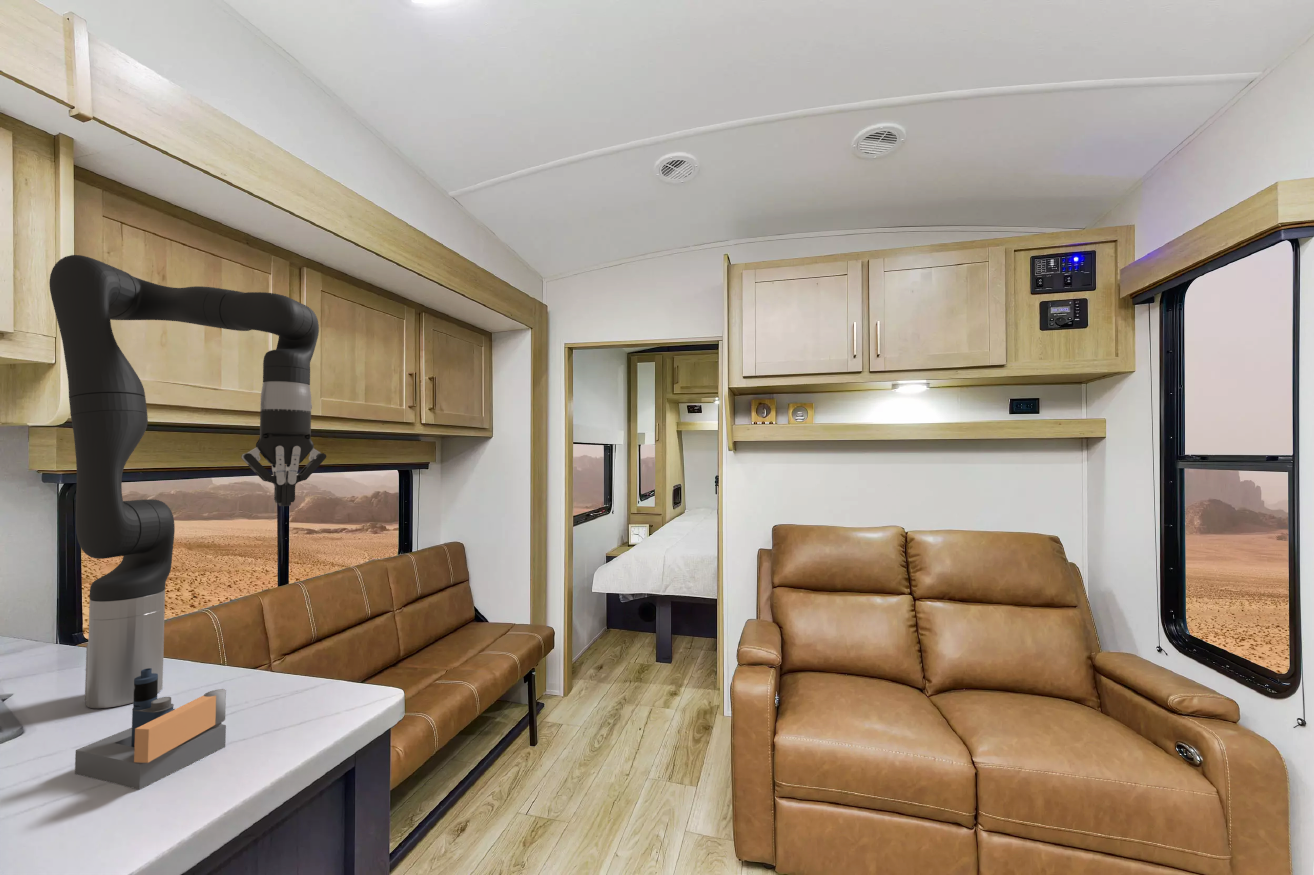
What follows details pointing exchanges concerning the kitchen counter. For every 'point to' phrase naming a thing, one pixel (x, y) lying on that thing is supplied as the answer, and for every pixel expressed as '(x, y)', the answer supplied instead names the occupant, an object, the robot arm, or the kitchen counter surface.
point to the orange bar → (179, 725)
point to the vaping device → (147, 701)
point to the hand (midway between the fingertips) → (284, 505)
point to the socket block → (117, 762)
